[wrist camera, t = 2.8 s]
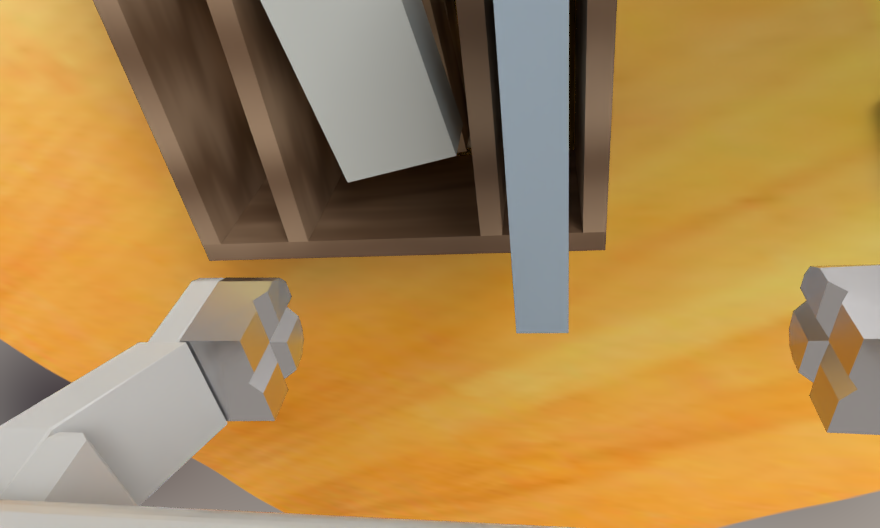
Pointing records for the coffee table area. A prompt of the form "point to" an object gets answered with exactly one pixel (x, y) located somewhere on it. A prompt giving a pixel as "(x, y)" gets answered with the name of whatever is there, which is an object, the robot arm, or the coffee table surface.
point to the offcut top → (371, 81)
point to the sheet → (536, 156)
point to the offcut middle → (448, 61)
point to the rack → (308, 152)
